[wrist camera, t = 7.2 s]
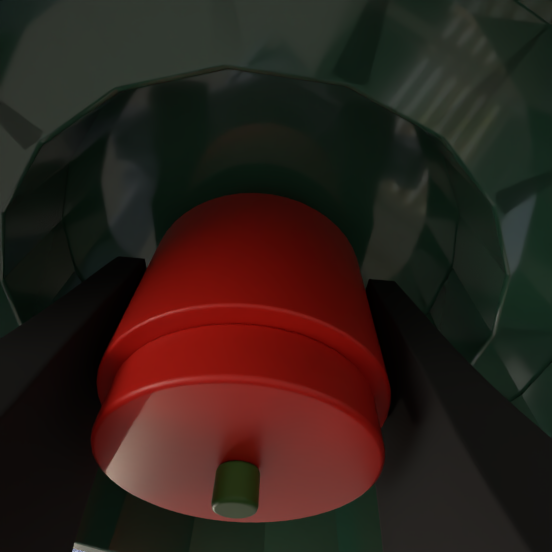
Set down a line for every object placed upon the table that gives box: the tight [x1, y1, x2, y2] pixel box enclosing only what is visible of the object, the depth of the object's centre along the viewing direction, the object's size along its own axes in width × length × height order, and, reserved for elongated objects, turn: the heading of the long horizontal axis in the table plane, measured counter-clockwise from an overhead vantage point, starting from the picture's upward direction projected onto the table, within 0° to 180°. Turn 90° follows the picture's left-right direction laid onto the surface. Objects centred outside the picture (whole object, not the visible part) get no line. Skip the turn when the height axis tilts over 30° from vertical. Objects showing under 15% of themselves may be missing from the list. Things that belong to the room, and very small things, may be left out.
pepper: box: [91, 193, 391, 522], centre depth 8 cm, size 5×5×6 cm
